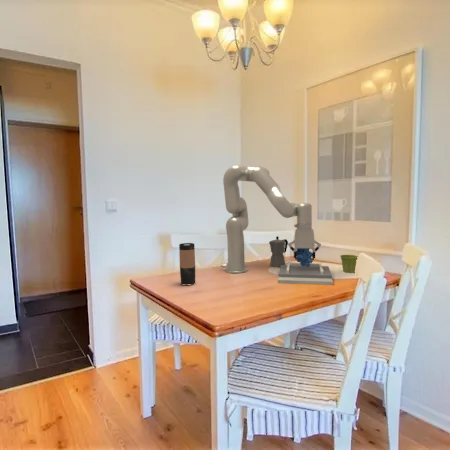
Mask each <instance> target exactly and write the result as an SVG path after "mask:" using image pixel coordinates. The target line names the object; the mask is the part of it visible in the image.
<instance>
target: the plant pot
mask: <svg viewBox="0 0 450 450" xmlns="http://www.w3.org/2000/svg"><path fill="white" fill-rule="evenodd" d="M339 257H340V260H341V264H342V272H344V273H347V272H351V273H355V272H356V267H355V266H356V265H357V261H356V260H358V258H359V255H354V254H340V256H339ZM357 257H358V258H357ZM354 271H355V272H354Z"/></svg>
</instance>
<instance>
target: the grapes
mask: <svg viewBox="0 0 450 450" xmlns="http://www.w3.org/2000/svg"><path fill="white" fill-rule="evenodd" d="M296 252H297V259H296V260H295V261H297V263H300V264H301V266H305V265H306V266H307V267H309V266H310V263H313V261H314V260H313V259H312V255H313V254H312V252H313V251H311V250H310V249H297V250H296Z"/></svg>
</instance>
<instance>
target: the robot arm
mask: <svg viewBox="0 0 450 450" xmlns="http://www.w3.org/2000/svg"><path fill="white" fill-rule="evenodd" d="M222 181H223V191H224V201H225V209H226V211H227V212H228V213H229V214H231V215H232V216H231V217H229V218H228V219H227V220H226V223H225V229H226V237H227V242H226V243H227V262H226V263H220V267H221V268H225V272H226V273H230V274H242V273H247V272H248V267H245V266H246V265H245V258H246V256H245V236H244V231H245V230H246V229H247V228H248V227H249V213H248V205H247V202H246V200H245V199H244V198H243V197H241V194H240V187H239V183H238V182H239V181H241V182H249V183H250V182H252V183H255V184H256V186H258V187H259V189H260V190H261V191H262V192H263V193H264V194H265V196H266V197H267V199H268V200H269V201H270V203H271V205H272V206H273V207H274V208H275V210H276V211H277V212H278V214H280V215H281V217H283V218H285V219H288V218H294V217H296V224H294V228H296V229H295V231H294V240H292V241H291V242H288V245H287V247H289V248H290V250H291V251H292V252H293V259H295V261H297V260H296V259H297V252H296V251H297V249H309V250H312V251H311V252H312V254H313V255H312V257H311V258H312V259H313V261H314V260H315V259H316V253H317V251H318V250H319V249H320V248H321V246H322V244H321V242H318V241H316V240H315V233H314V229H313V228H312V226H313V225H312V224H313V223H312V222H313V221H312V220H313V219H312V217H313V216H312V214H313V211H312V208H313V206H312V204H311V203H307V202H305V203H304V202H302V203H301V202H300V203H296V202H295V203H293V202H290V201H289V200H288V199H287V198H286V197H285V196H284V194H283V193H282V191H281V188H280V186H279V184H278V182H276V180H275V179H274V178H273V177H272V176H271V174H270V171H269V170H268V168H266V167H265V166H245V165H241V164H234V165H232V166H230V167H228V169H226V171H225V173H224V175H223V180H222ZM292 245H294V247H293V246H292ZM315 245H316V247H315Z"/></svg>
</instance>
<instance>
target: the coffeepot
mask: <svg viewBox="0 0 450 450" xmlns="http://www.w3.org/2000/svg"><path fill="white" fill-rule="evenodd" d="M268 244H269V246H270V252H271V256H270V262H269V266H270V267H272V268H280V267H281V265H286V261H285V255H284V253H286V252H287V248H288V244H289V241H288V239H286V238H285V239H279V236H276V237H275V239H273V240H270V241H269V242H268Z"/></svg>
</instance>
